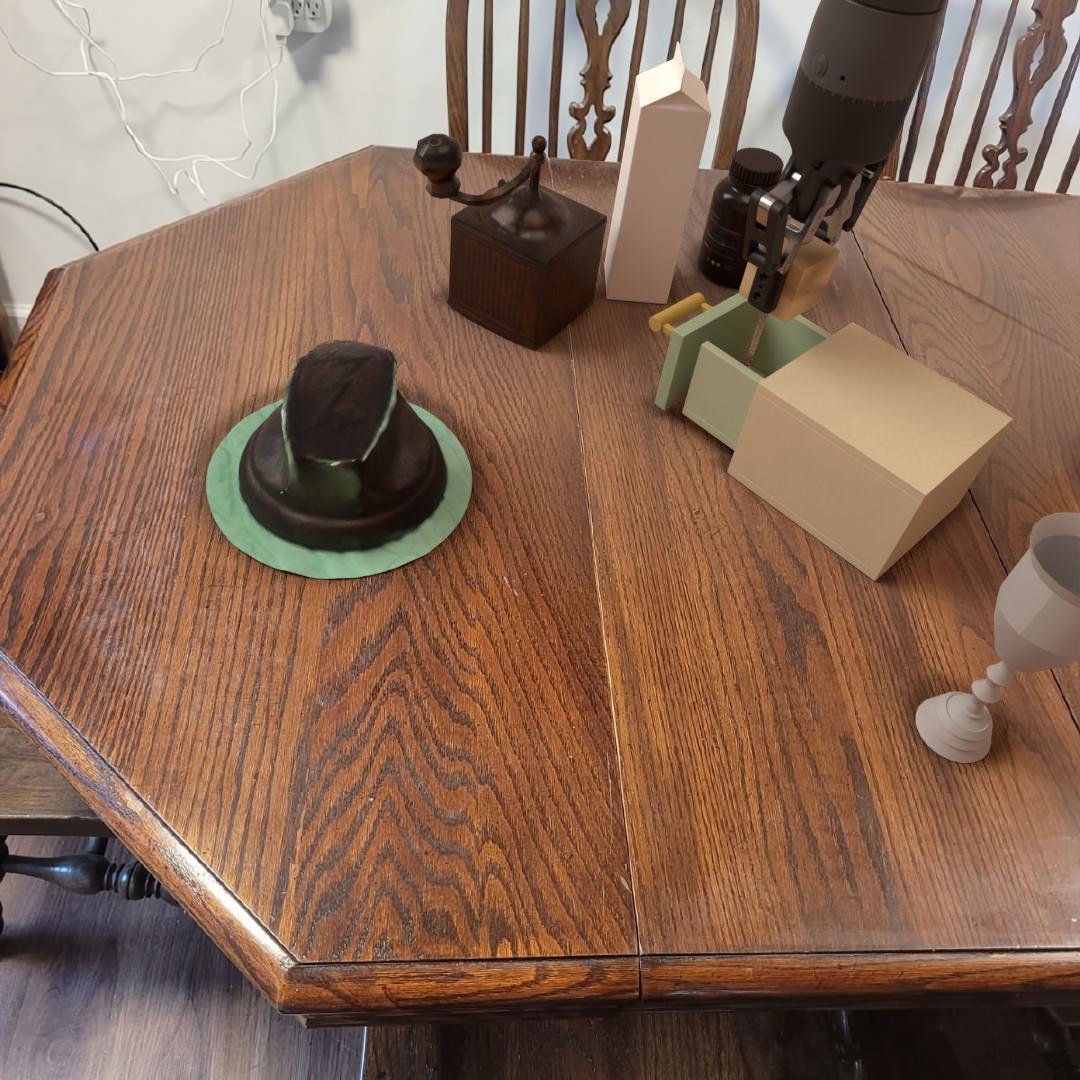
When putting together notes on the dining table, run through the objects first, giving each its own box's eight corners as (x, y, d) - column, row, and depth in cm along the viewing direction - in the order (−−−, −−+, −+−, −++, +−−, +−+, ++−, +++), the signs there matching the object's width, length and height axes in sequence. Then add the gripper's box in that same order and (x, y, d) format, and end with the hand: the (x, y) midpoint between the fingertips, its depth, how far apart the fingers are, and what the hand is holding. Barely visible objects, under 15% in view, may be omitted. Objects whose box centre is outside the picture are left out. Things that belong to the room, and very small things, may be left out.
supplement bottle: (722, 244, 100) (753, 134, 91) (774, 274, 97) (810, 164, 88) (681, 265, 96) (709, 154, 87) (733, 297, 94) (767, 185, 85)
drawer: (617, 377, 82) (633, 302, 77) (700, 329, 88) (720, 257, 82) (778, 494, 75) (809, 421, 69) (857, 433, 81) (891, 362, 75)
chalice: (893, 750, 62) (1028, 582, 48) (904, 670, 66) (1031, 495, 52) (1005, 792, 61) (1176, 632, 47) (1010, 708, 65) (1167, 539, 51)
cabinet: (726, 472, 77) (758, 382, 70) (814, 410, 84) (852, 321, 76) (874, 581, 71) (926, 495, 64) (957, 505, 77) (1013, 418, 70)
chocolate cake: (498, 563, 67) (208, 605, 63) (457, 487, 84) (226, 515, 80) (483, 354, 62) (164, 385, 58) (442, 317, 79) (193, 338, 75)
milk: (606, 300, 91) (645, 67, 75) (603, 264, 95) (640, 36, 79) (667, 305, 92) (721, 74, 75) (663, 269, 96) (712, 43, 79)
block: (773, 274, 75) (790, 221, 71) (820, 302, 73) (840, 250, 69) (737, 293, 72) (753, 240, 69) (785, 323, 71) (804, 270, 67)
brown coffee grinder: (504, 257, 94) (518, 74, 81) (596, 302, 91) (628, 118, 77) (403, 328, 85) (401, 136, 72) (502, 381, 82) (518, 189, 68)
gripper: (845, 121, 54) (763, 355, 67) (967, 66, 62) (871, 287, 75) (745, 71, 58) (684, 304, 70) (872, 24, 65) (796, 243, 78)
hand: (781, 294), depth 72 cm, fingers closed on block, 4 cm apart
